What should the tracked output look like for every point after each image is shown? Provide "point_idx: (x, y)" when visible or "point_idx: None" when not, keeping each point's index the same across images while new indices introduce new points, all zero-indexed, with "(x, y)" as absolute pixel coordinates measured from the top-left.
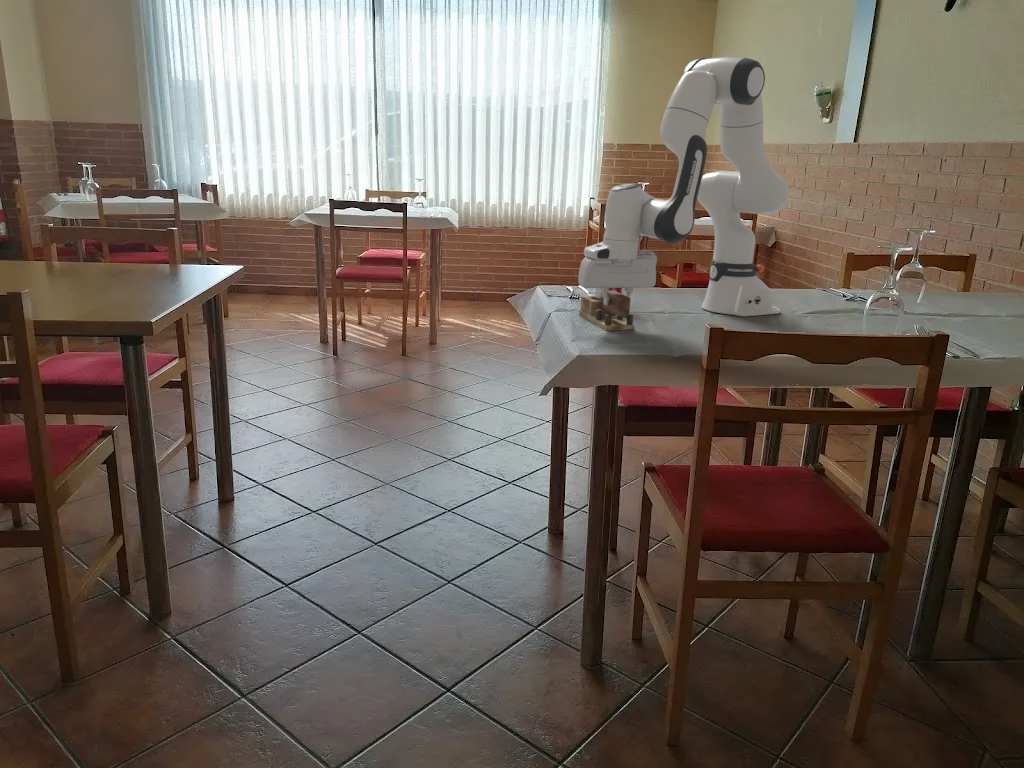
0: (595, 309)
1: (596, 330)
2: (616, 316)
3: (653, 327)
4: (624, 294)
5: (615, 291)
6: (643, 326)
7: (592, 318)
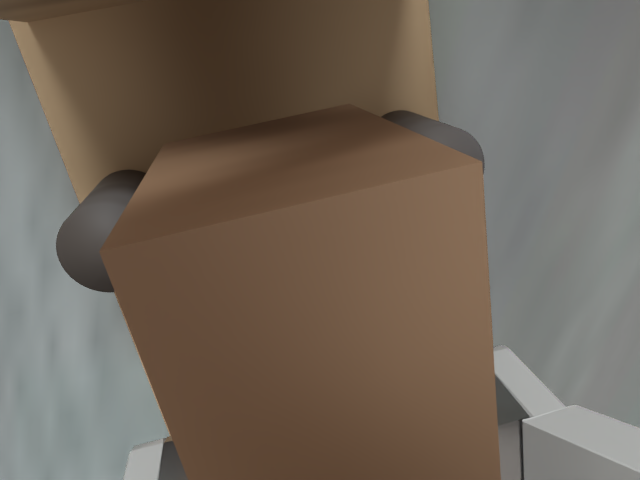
0: (68, 2)
1: (98, 438)
2: (397, 3)
3: (633, 256)
4: (584, 454)
5: (474, 291)
6: (567, 232)
7: (55, 133)
